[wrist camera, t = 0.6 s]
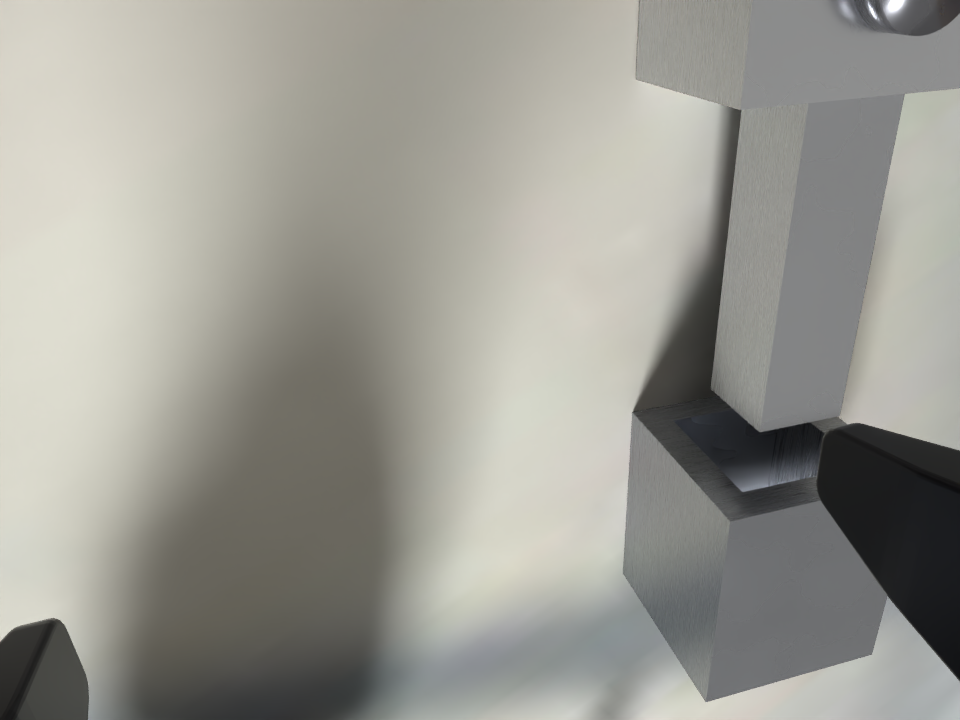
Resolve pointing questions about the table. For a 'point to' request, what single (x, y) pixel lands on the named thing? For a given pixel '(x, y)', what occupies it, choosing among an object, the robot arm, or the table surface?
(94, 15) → the table surface
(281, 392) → the table surface
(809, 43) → the grey l-shaped piece
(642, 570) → the socket
